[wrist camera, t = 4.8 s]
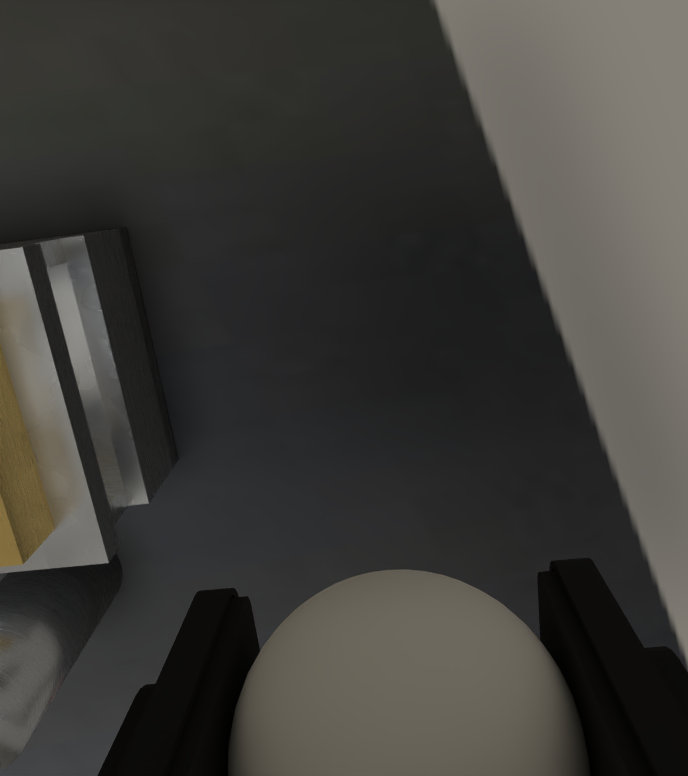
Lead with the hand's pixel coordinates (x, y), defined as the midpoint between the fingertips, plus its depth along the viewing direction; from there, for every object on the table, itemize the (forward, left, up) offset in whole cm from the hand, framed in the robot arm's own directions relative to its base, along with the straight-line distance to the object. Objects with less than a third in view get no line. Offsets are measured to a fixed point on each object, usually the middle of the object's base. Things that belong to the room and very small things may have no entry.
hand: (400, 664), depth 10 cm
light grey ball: (0, 0, -1) cm, 1 cm away
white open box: (+14, -1, -18) cm, 23 cm away
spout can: (+15, +9, -18) cm, 25 cm away
